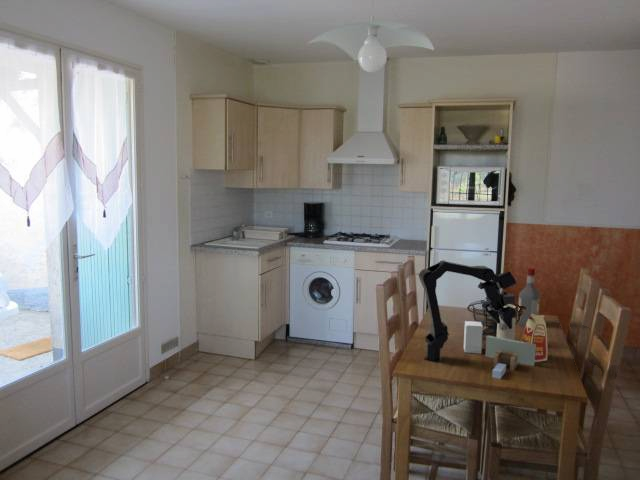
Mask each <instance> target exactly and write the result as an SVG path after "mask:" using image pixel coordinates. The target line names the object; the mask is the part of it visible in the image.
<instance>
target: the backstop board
mask: <svg viewBox="0 0 640 480" xmlns="http://www.w3.org/2000/svg"><path fill="white" fill-rule="evenodd" d="M485 337H486V339H485V357H487V358H490V359H491V358H492V359H494V355H495V353H496V352H497V351H498V350H499V351H505V352H510V353H515V354H518V359H517V364H521V365H526V366H532V367H534V366H535V365H536V364H535V363H536V362H535V350H536V344H533V343H527V342H521V341H519V340H515V339H514V340H510V339H504V338H499V337H497V336H493V335H486V336H485Z"/></svg>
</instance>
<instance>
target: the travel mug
mask: <svg viewBox="0 0 640 480" xmlns="http://www.w3.org/2000/svg"><path fill="white" fill-rule="evenodd" d="M508 306H510V307H512V308H515V309H516V308H517V306H515V305H514V304H512V303H507V305H506V306H504V307H505V308H506V307H508ZM498 314H499V311H498ZM516 317H517V313H516V314H515V315H514V316H513V317H512V329H509V328H508V327H507V326H506V324H505V323H504V322H503V321H502V320H501V317H500V316H499V318H500V323H499V324H498V323H497V322H496V324H497V326H496V337H499V338H504V339H510V340H515V337H516V336H515V335H516V322H517V321H516Z"/></svg>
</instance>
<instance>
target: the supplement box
mask: <svg viewBox="0 0 640 480" xmlns="http://www.w3.org/2000/svg"><path fill="white" fill-rule="evenodd" d="M483 327H484V326H483V324H482V322H481V321H472V320H471V321H470V320H469V321H467V320H465V321H464V329H463V330H464V334H463V350H464V351H463V352H464V353H470V354H482V345H483V331H484V330H483V329H484V328H483Z"/></svg>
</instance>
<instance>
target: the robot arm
mask: <svg viewBox="0 0 640 480" xmlns="http://www.w3.org/2000/svg"><path fill="white" fill-rule="evenodd" d="M446 272H447V273H448V272H449V273H455V274H460V275H465V276H469V277H474V278H476V279H478V280H480V282H479V284H478V285H477V288H478V289H480V290H483V291H484V293H485V295H486V297H485V300H486V301H484V302H483V303H482V304H481V308H482V310H483V311H484V312H485V313H487V315H489V316H490V318H492V319H493V320H494V321H495V322H496V324H497V323H498V324H499V323H500V318H499V316H500V317H501V320H502V321H503V322H504V323H505V324H506V326H507V327H508V328H509V329H512V317H513V316H514V315H515V314H516V315H517V314H518V311H517V309H516V308H512V307H510V306H508V307H506V308H505V307H504V306H506V305H507V304H516V298H517V297H516V294H512V293H508V292H507V291H505V290H506V289H509V288H511V287H513V286H517V281H516V278H515V277H514V275H513V274H512V273H511V271H509V270H505V271H503V272H502V273H500V274H496V273H495V272H494V270H493V269H492V268H490V267H487V266H485V265H474V266H473V265H466V264H461V263H456V262H452V261H451V262H450V261H446V260H443V259H442V260H440V261H439V262H437V263H436V264H433V265H430V266H429V267H427V268H423V269H422V270H421V271H420V272H419V274H418V279H419V280H420V283H421V285H422V288H423V290H424V291H425V297H426V302H427V306H428V308H427V309H428V312H429V317H430V327H429V328H430V329H429V330H430V332H429V333H428V334H427V335H426V336H425V337H424V339H425V342H426V343H427V344H426V346H427V347H426V356H424V357H423V360H424V361H425V360H427V361H430V362H435V363H439V362H440V361H442V360H443V359H444V357H443V356H441V353H442V352H441V350H442V349H443V347H444V345H445V343H447V341H448V340H449V336H450V334H449V332H448V330H449V329H448V325H447V324H446V323H444V321H443V322H442V317H441V313H440V307H439V303H438V296H437V292H436V290H437V281H438V280H439V279H440V278H441V277H442V276H443V275H444V274H445V273H446ZM481 281H483V282H481ZM500 290H502V291H501V292H500ZM498 311H499V314H498Z"/></svg>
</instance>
